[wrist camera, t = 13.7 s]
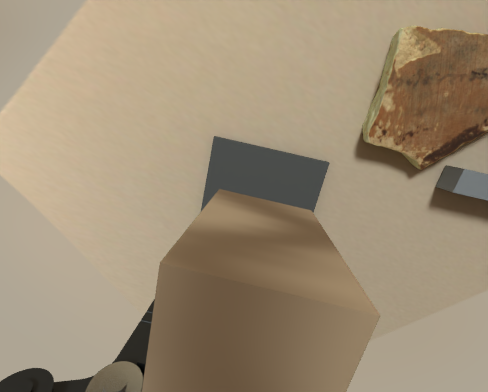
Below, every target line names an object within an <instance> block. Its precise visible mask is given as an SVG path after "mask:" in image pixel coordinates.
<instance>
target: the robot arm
mask: <svg viewBox="0 0 488 392" xmlns="http://www.w3.org/2000/svg"><path fill="white" fill-rule="evenodd" d="M154 302H155V300H154V301H153V302H152V304H151V305H150V307H149V308H148V310H147V312H146V313H145V315H144V316H143V318H142V320H141V322H140V323H139V324H138V326H137V327H136V329H135V330H134V332H133V333H132V335H131V337H130V338H129V340H128V341H127V343H126V344H125V346H124V347H123V349H122V350H121V352H120V354H119V355H118V357H117V358H116V359H115V361H114V362H113V363H112V364H110V365H108V366H106V367H104V368H103V369H101V370H100V371H99V372H98V373H97V374H96V375H94V376H92V377H89V378H86V379H80V380H71V381H62V382H54V380H53V377H52V375H51V373H50V372H49V371H47V370H45V369H41V368H31V369H26V370H23V371H19V372H17V373H14V374H12V375H11V376H8V377H7V378H5V379H4V380H2V381H1V382H0V392H142V386H143V379H144V372H145V365H146V358H147V351H148V344H149V337H150V330H151V323H152V316H153V309H154Z"/></svg>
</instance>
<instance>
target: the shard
mask: <svg viewBox="0 0 488 392" xmlns="http://www.w3.org/2000/svg"><path fill="white" fill-rule="evenodd" d="M362 127H363V131H362V132H363V140H364V141H365V142H366V143H369V144H373V145H376V146H382V147H385V148H389V149H391V150H395V151H398V152H401V153H402V154H403V155H404V156H405V157H406V158H407V159H408V161H409V162H410V163H411V164H412V165H413V166H415V167H416V168H418V169H419V170H422V169H424V168H426V167H427V166H428V165H430V164H432V163H435V162H436V161H438V160H439V159H440V158H443V157H445V156H447V155H449V154H451V153H452V152H454V151H456V150H457V149H458V148H459V147H460V146H461V145H463V144H466V143H469V142H471V141H473V140H475V139H476V138H478V137H479V136H481V135H483V134H484V133H486V132H488V35H487V34H480V33H468V32H465V31H463V30H452V29H444V28H439V29H436V30H431V29H428V28H423V27H419V26H410V27H406V28H400V29H399V30H398V31H397V32H396V34H395V35H394V36H393V38H392V41H391V45H390V50H389V53H388V56H387V60H386V63H385V66H384V70H383V74H382V76H381V81H380V84H379V89H378V91H377V93H376V96H375V98H374V100H373V102H372V104H371V107H370V109H369V112H368V115H367V118H366V120H365V122H364V124H363V125H362Z"/></svg>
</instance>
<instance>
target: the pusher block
mask: <svg viewBox="0 0 488 392" xmlns="http://www.w3.org/2000/svg"><path fill="white" fill-rule="evenodd" d="M379 318H380V314H379V313H378V311H377V310H376V308H375V307H374V305H373V304H372V302H371V301H370V299H369V298H368V296H367V295H366V293H365V291H364V290H363V288H362V287H361V285H360V284H359V282H358V281H357V279H356V278H355V276H354V275H353V273H352V272H351V270H350V269H349V267H348V266H347V264H346V263H345V261H344V259H343V258H342V256H341V255H340V253H339V252H338V250H337V249H336V247H335V246H334V244H333V243H332V241H331V240H330V238H329V237H328V235H327V234H326V232H325V231H324V229H323V227H322V226H321V224H320V223H319V221H318V220H317V218H316V217H315V215H314V214H313V212H312V211H311V210H307V209H303V208H299V207H294V206H290V205H286V204H282V203H277V202H273V201H269V200H265V199H260V198H256V197H252V196H247V195H243V194H239V193H235V192H230V191H226V190H222V189H219V190H218V191H217V193H216V194H215V195H214V196H213V198H212V199H211V200H210V201H209V202H208V204H207V205H206V206H205V207H204V209H203V210H202V211H201V212H200V214H199V215H198V216H197V217H196V219H195V220H194V221H193V222H192V224H191V225H190V226H189V227H188V229H187V230H186V231H185V232H184V234H183V235H182V236H181V237H180V239H179V240H178V241H177V242H176V243H175V245H174V246H173V247H172V248H171V250H170V251H169V252H168V253H167V255H166V256H165V257H164V258H163V260H162V261H161V262H160V266H159V273H158V280H157V287H156V295H155V302H154V309H153V316H152V323H151V330H150V337H149V344H148V351H147V358H146V365H145V372H144V379H143V386H142V392H346V391H347V388H348V386H349V384H350V382H351V380H352V377H353V375H354V373H355V371H356V369H357V366H358V364H359V362H360V360H361V357H362V355H363V353H364V351H365V349H366V346H367V344H368V342H369V340H370V338H371V336H372V333H373V331H374V329H375V327H376V325H377V322H378V320H379Z"/></svg>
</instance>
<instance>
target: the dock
mask: <svg viewBox="0 0 488 392" xmlns="http://www.w3.org/2000/svg"><path fill="white" fill-rule="evenodd" d="M436 187H438V188H441V189H444V190H447V191H450V192H453V193H457V194H462V195H466V196H470V197H475V198H479V199H483V200H488V174H484V173H479V172H475V171H471V170H466V169H461V168H456V167H451V166H445V168H444V170H443V172H442V175H441V177H440V179H439V181H438V183H437V185H436Z"/></svg>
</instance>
